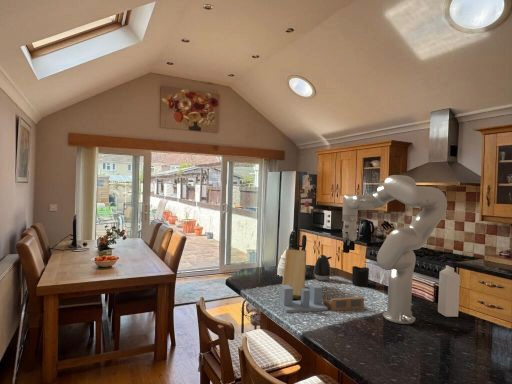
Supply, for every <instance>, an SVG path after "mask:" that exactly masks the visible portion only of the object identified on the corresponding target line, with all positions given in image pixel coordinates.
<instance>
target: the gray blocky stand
mask: <svg viewBox="0 0 512 384" xmlns="http://www.w3.org/2000/svg"><path fill="white" fill-rule="evenodd" d="M279 294H280V295H279V301H278V305H279V306H280V307H281V309H282V310H284V311H285V313H286V314H287V313H288V314H289V313H301V312H302V313H304V312H321V311H328V309H329V308H328V307H327V306H326V305H325V304H324V302H323V286H321V285H320V284H318V283H309V285H308V288H304V289H301V300H300V299H297V300H294V299H293V288H292V287H290V286H289V285H282V284H281V285H280V292H279Z"/></svg>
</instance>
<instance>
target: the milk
mask: <svg viewBox="0 0 512 384" xmlns="http://www.w3.org/2000/svg"><path fill="white" fill-rule="evenodd" d="M438 277H439V279H438V302H437V303H438V304H437V313H439V314H441V315H443V316H444V317H451V318H452V317H454V318H455V317H457V318H458V317H459V305H460V288H461V287H460V286H461V285H460V284H461V282H460V281H461V275H460V274H458V273H457V272H456V271H455V267H452V266H450V265H445V268H443V269H441V271H439V276H438Z"/></svg>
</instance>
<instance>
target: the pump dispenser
mask: <svg viewBox="0 0 512 384" xmlns="http://www.w3.org/2000/svg"><path fill="white" fill-rule="evenodd" d="M332 257H333V256H328V257H327V255H325V254H321V255H319V256H318V257H317V260H316V261H315V263H314V268H313V269H314V270H313V274H314V278H315V279H316V280H317V281H321V282H325V281H328V280H329V279H330V276H331V275H332V270H331V264H330V261H329V260H331V259H332Z"/></svg>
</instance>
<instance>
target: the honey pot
mask: <svg viewBox="0 0 512 384" xmlns="http://www.w3.org/2000/svg"><path fill="white" fill-rule="evenodd" d="M288 247H289V246H287V247H286V249H288ZM286 249H284V251H283V253H282V254H281V255H280V258H279V262H278V265H277V271H276V275H277V276H278V275H279V276H278V277H281V276H282V278H283V273H284V264H285V256H286Z"/></svg>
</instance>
